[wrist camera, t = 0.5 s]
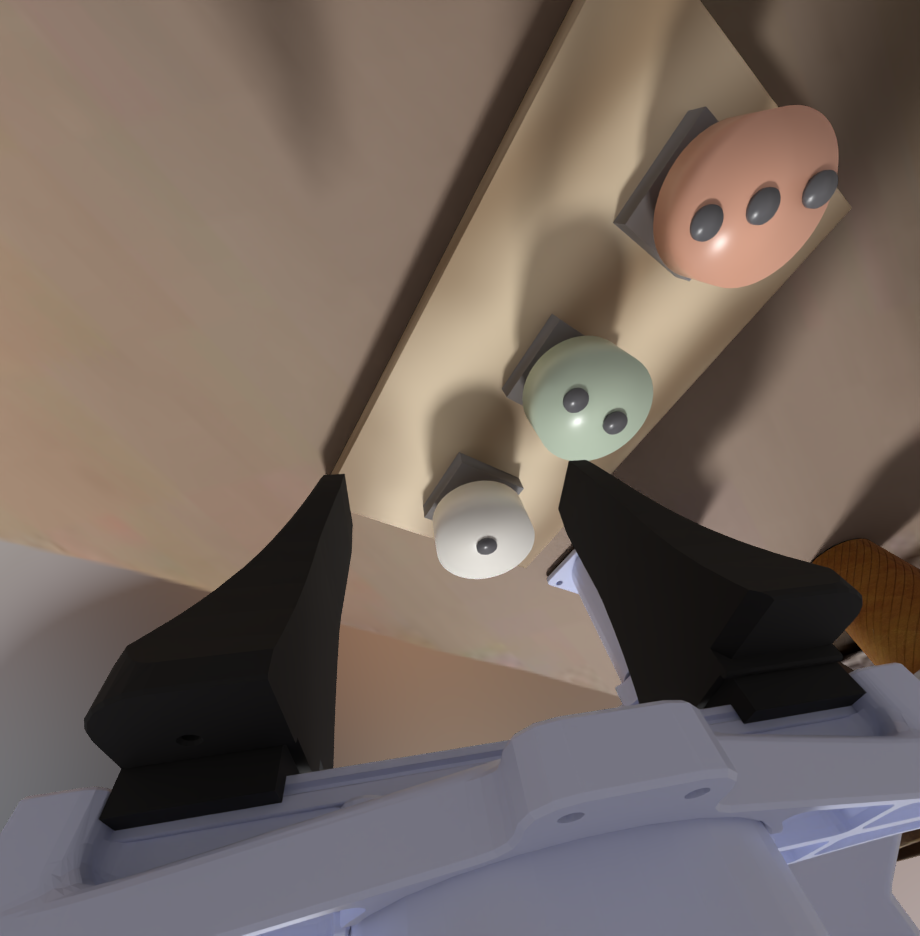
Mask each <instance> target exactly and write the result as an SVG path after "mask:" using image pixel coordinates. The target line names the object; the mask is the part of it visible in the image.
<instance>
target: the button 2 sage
mask: <svg viewBox="0 0 920 936" xmlns="http://www.w3.org/2000/svg"><path fill="white" fill-rule="evenodd" d="M652 400H653V384H652V379H651V377H650V374H649V372H648V370H647V369H646V367H645V366H644V365H643V364H642V363H641V362H640V361H639V360H637V359H636V358H634V357H633V356H631V355H630V354H628V353H627V352H625V351H624V350H622V349H621V348H620V347H618V346H617V345H615V344H614V343H612V342H610V341H609V340H607V339H604V338H601V337H597V336H578V337H574V338H570V339H567V340H565V341H563V342H561V343H559V344H557V345H555V346H554V347H552V348H551V349H549V350H548V351H547V352H546V353H544V354H543V355H542V356H541V357H540V359H539V360H538V361H537V362H536V363H535V365H534V366H533V368H532V369H531V371H530V372H529V375H528V377H527V379H526V382H525V385H524V389H523V399H522V401H523V408H524V412H525V415H526V417H527V419H528V421H529V422H530V424H531V425H532V427H533V429H534V430H535V432H536V433H537V435H538V437H539V438H540V440H541V441H542V443H543V444H544V446H545V447H546V448H547V449H548V450H549V451H550V452H551V453H552V454H554V455H556V456H557V457H559V458H562V459H565V460H569V461H574V460H588V461H590V460H594V459H598V458H601V457H604V456H606V455H608V454H611V453H612V452H614V451H616V450H618V449H619V448H620V447H622V446H623V445H625V444H626V443H627V442H628V441H629V440H630V439H631V438H632V437H633V436H634V435H635V434H636V433H637V432H638V430H639V429H640V428H641V426H642V425H643V423H644V422H645V420H646V418H647V416H648V414H649V411H650V408H651V405H652Z"/></svg>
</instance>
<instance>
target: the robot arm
mask: <svg viewBox="0 0 920 936" xmlns="http://www.w3.org/2000/svg"><path fill="white" fill-rule="evenodd" d="M558 510H559V513H560V516H561V519H562V522H563V524H564V527H565V530H566V532H567V535H568V537H569V539H570V541H571V543H572V544H573V546H574V548H575V549H574V550H573V551H572V552H571V553H570V554H569V555H568V556H567V557H566V558H565V559H564V560H563V561H562V562H561V564H560V565H559V566H558V567H557V568H556V569H555V570H554V571H553V572H552V573H551V574H550V575H549V576H548V578H547V581H548V583H549V585H552V586H555V587H558V588H561V589H565V590H568V591H571V592H574V593H577V594H579V595H580V597H581V599H582V601H583V603H584V606H585V608H586V610H587V612H588V614H589V616H590V618H591V620H592V622H593V624H594V626H595V628H596V630H597V632H598V634H599V636H600V639H601V641H602V643H603V645H604V647H605V649H606V651H607V653H608V655H609V657H610V659H611V661H612V663H613V665H614V667H615V669H616V671H617V674H618V676H619V678H620V680H621V682H622V684H620V685H618V686H617V687H616V688H615V689H616V691H617V693H618V695H619V698H620V700H621V702H622V705H620V706H619V707H617V708H610V709H604V710H597V711H591V712H585V713H578V714H572V715H565V716H560V717H554V718H551V719H547V720H544V721H540V722H536V723H533V724H531V725H530V726H528V727H526V728H524V729H523V730H521V731H519V732H518V733H515V734H514V735H513V737H512V738H511V739H510V740H507V741H501V742H495V743H489V744H482V745H476V746H470V747H464V748H458V749H451V750H445V751H439V752H433V753H426V754H421V755H414V756H408V757H402V758H395V759H389V760H383V761H377V762H370V763H365V764H358V765H352V766H346V767H339V768H333V759H334V726H335V725H334V724H335V700H336V698H335V697H336V679H337V659H338V644H339V643H338V642H339V629H340V621H341V614H342V608H343V602H344V596H345V590H346V584H347V578H348V572H349V565H350V559H351V553H352V526H353V524H352V517H351V511H350V504H349V498H348V491H347V485H346V478H345V474H332V475H324V476H323V477H322V478H321V479H320V480H319V482H318V483H317V485H316V486H315V488H314V489H313V490H312V492H311V493H310V495H309V496H308V497H307V499H306V500H305V501H304V503H303V504H302V505H301V507H300V508H299V509H298V510H297V512H296V513H295V514H294V516H293V517H292V518H291V519H290V520H289V522H288V523H287V524H286V525H285V526H284V527H283V528H282V530H281V531H280V532H279V533H278V534H277V535H276V536H275V537H274V539H273V540H272V541H271V542H270V543H269V544H268V545H267V546H266V547H265V548H264V549H263V550H262V551H261V552H260V553H259V554H258V555H257V556H256V557H255V558H253V559H252V560H251V561H250V562H249V563H248V564H247V565H246V566H245V567H243V568H242V569H241V570H240V571H238V572H237V573H236V574H235V575H233V576H232V577H231V578H230V579H228V580H227V581H226V582H225V583H224V584H222V585H221V586H220V587H219V588H217V589H216V590H215V591H213V592H212V593H210V594H209V595H208V596H207V597H205V598H203V599H202V600H201V601H199V602H198V603H196V604H195V605H193V606H192V607H190V608H189V609H187V610H186V611H184V612H183V613H181V614H180V615H178V616H177V617H175V618H174V619H172V620H170V621H169V622H167V623H165V624H163V625H162V626H160V627H158V628H157V629H155V630H153V631H152V632H150V633H148V634H147V635H145V636H143V637H142V638H140V639H138V640H137V641H135V642H133V643H131V644H130V645H128V646H127V647H126V648H125V650H124V651H123V653H122V655H121V656H120V658H119V659H118V660H117V662H116V663H115V665H114V667H113V668H112V670H111V672H110V674H109V675H108V677H107V679H106V681H105V683H104V685H103V686H102V688H101V690H100V692H99V694H98V695H97V697H96V699H95V700H94V702H93V704H92V706H91V708H90V709H89V711H88V713H87V715H86V717H85V718H84V727H85V730H86V732H87V734H88V735H89V737H90V738H91V740H92V741H93V742H94V743H95V744H96V745H97V746H98V747H99V748H100V749H101V750H102V751H103V752H104V753H105V754H106V755H108V756H109V757H110V758H111V759H112V760H113V761H114V762H115V763H116V764H117V765H118V766H119V767H120V768H121V771H120V773H119V775H118V778H117V780H116V782H115V784H114V786H113V789H112V790H111V789H108V788H103V787H86V788H80V789H73V790H67V791H60V792H54V793H47V794H40V795H34V796H28V797H26V798H24V799H22V800H20V801H19V803H18V805H17V806H16V808H15V809H14V811H13V813H12V815H11V816H10V818H9V819H8V821H7V823H6V824H5V826H4V828H3V830H2V831H1V833H0V936H920V930H919V929H918V928H917V926H916V925H915V924H914V922H913V921H912V920H911V918H910V917H909V915H908V914H907V913H906V911H905V910H904V909H903V907H902V906H901V905H900V903H899V902H898V901H897V900H896V898H895V897H894V895H893V894H892V881H893V876H894V871H895V866H896V861H897V856H898V851H899V846H900V841H901V836H902V833H904V832H908V831H912V830H916V829H920V680H919V679H917V678H916V677H915V676H914V675H913V674H912V673H911V672H910V671H909V670H908V669H907V668H905V667H904V666H903V665H902V664H900V663H890V664H883V665H877V666H870V667H864V668H860V669H857V670H855V671H853V672H850V673H849V674H848V673H847V672H846V671H845V670H844V669H843V667H842V666H841V665H840V664H839V663H838V662H839V661H841V660H842V659H843V655H842V653H841V652H840V651H839V650H838V649H837V648H836V647H835V646H834V645H833V644H832V643H833V642H834V641H835V640H836V639H837V638H838V637H839V636H840V635H841V633H842V632H843V631H844V630H845V629H846V628H847V627H848V626H849V625H850V624H851V623H852V622H853V621H854V619H855V618H856V617H857V616H858V614H859V613H860V611H861V608H862V606H863V600H862V595H861V594H860V593H859V592H858V591H857V590H856V589H855V588H854V587H853V586H851V585H850V584H849V583H848V582H847V581H846V580H844V579H843V578H842V577H841V576H840V575H839V574H837V573H836V572H835V571H834V570H832V569H831V568H828V567H824V566H820V565H816V564H813V563H809V562H805V561H801V560H798V559H794V558H790V557H786V556H783V555H780V554H777V553H773V552H770V551H767V550H764V549H761V548H758V547H755V546H752V545H749V544H746V543H744V542H741V541H738V540H735V539H733V538H730V537H728V536H725V535H723V534H720V533H718V532H715V531H713V530H710V529H708V528H706V527H704V526H701V525H699V524H697V523H695V522H693V521H691V520H689V519H687V518H684V517H682V516H680V515H678V514H676V513H674V512H672V511H671V510H669V509H667V508H665V507H663V506H662V505H660V504H658V503H656V502H654V501H653V500H651V499H649V498H648V497H646V496H644V495H642V494H641V493H639V492H638V491H636V490H634V489H633V488H631V487H630V486H628V485H626V484H625V483H623V482H622V481H620V480H619V479H617V478H615V477H614V476H612V475H611V474H609V473H608V472H606V471H604V470H603V469H601V468H600V467H598V466H596V465H595V464H593V463H591V462H589V461H588V460H574V461H569V462H568V467H567V471H566V475H565V480H564V484H563V489H562V493H561V498H560V502H559V507H558Z"/></svg>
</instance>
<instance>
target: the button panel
mask: <svg viewBox="0 0 920 936" xmlns="http://www.w3.org/2000/svg"><path fill="white" fill-rule="evenodd" d="M773 108H778V106H777V105H776V104H775V102H774V101H773V99H772V98H771V97H770V95H769V94H768V93H767V91H766V90H765V89H764V87H763V86H762V84H761V83H760V82H759V80H758V79H757V78H756V76H755V75H754V73H753V72H752V71H751V69H750V68H749V67H748V65H747V64H746V63H745V61H744V60H743V58H742V57H741V56H740V54H739V53H738V52H737V50H736V49H735V47H734V46H733V45H732V43H731V42H730V41H729V39H728V38H727V37H726V35H725V34H724V32H723V31H722V30H721V28H720V27H719V26H718V24H717V23H716V21H715V20H714V19H713V17H712V16H711V15H710V13H709V12H708V11H707V9H706V8H705V6H704V5H703V4H702V2H701V1H700V0H573V2H572V4H571V6H570V8H569V10H568V12H567V14H566V16H565V18H564V20H563V22H562V24H561V26H560V28H559V30H558V32H557V34H556V36H555V37H554V39H553V41H552V43H551V45H550V47H549V49H548V51H547V53H546V55H545V57H544V59H543V61H542V63H541V65H540V67H539V69H538V71H537V73H536V75H535V77H534V79H533V80H532V82H531V84H530V86H529V88H528V90H527V92H526V94H525V96H524V98H523V100H522V102H521V104H520V106H519V108H518V110H517V112H516V114H515V116H514V118H513V120H512V121H511V123H510V125H509V127H508V129H507V131H506V133H505V135H504V137H503V139H502V141H501V143H500V145H499V147H498V149H497V151H496V153H495V155H494V157H493V159H492V161H491V163H490V164H489V166H488V168H487V170H486V172H485V174H484V176H483V178H482V180H481V182H480V184H479V186H478V188H477V190H476V192H475V194H474V196H473V198H472V200H471V202H470V204H469V205H468V207H467V209H466V211H465V213H464V215H463V217H462V219H461V221H460V223H459V225H458V227H457V229H456V231H455V233H454V235H453V237H452V239H451V241H450V243H449V245H448V247H447V248H446V250H445V252H444V254H443V256H442V258H441V260H440V262H439V264H438V266H437V268H436V270H435V272H434V274H433V276H432V278H431V280H430V282H429V284H428V286H427V288H426V289H425V291H424V293H423V295H422V297H421V299H420V301H419V303H418V305H417V307H416V309H415V311H414V313H413V315H412V317H411V319H410V321H409V323H408V325H407V327H406V329H405V331H404V332H403V334H402V336H401V338H400V340H399V342H398V344H397V346H396V348H395V350H394V352H393V354H392V356H391V358H390V360H389V362H388V364H387V366H386V368H385V370H384V372H383V373H382V375H381V377H380V379H379V381H378V383H377V385H376V387H375V389H374V391H373V393H372V395H371V397H370V399H369V401H368V403H367V405H366V407H365V409H364V411H363V413H362V415H361V416H360V418H359V420H358V422H357V424H356V426H355V428H354V430H353V432H352V434H351V436H350V438H349V440H348V442H347V444H346V446H345V448H344V450H343V452H342V454H341V456H340V457H339V459H338V461H337V463H336V465H335V467H334V469H333V471H332V473H331V475H332V474H345V478H346V485H347V491H348V498H349V504H350V511H351V512H352V513H355V514H358V515H361V516H364V517H368V518H371V519H374V520H377V521H380V522H383V523H386V524H389V525H392V526H396V527H399V528H402V529H405V530H408V531H411V532H414V533H417V534H420V535H424V536H427V537H430V538H433V539H435V536H434V529H433V514H434V511H435V509H436V507H437V505H438V503H439V502H440V501H441V500H442V498H443V497H445V496H446V495H447V494H448V493H449V492H451V491H452V490H454V489H455V488H457V487H459V486H461V485H464V484H467V483H470V482H475V481H495V482H499V483H502V484H505V485H507V486H509V487H510V488H512V489H513V490H514V491H515V492H516V493H517V494H518V495H519V497H520V499H521V501H522V503H523V505H524V508H525V510H526V512H527V514H528V517H529V519H530V521H531V523H532V526H533V528H534V533H535V539H534V544H533V547H532V549H531V551H530V552H529V554H528V555H527V557H526V558H525V559H524V560H523V561H522V562H521V563H520V564H518V565H517V566H520V567H523V568H527V566H528V565H529V564H530V563H531V562H532V561H533V560H534V559H535V558H536V556H537V555H538V554H539V553H540V552H541V551H542V550H543V549H544V548H545V547H546V545H547V544H548V543H549V542H550V541H551V540H552V539H553V538H554V537H555V535H556V534H557V533H558V532H559V531H560V530H561V529H562V528H563V527H564V524H563V522H562V519H561V516H560V513H559V510H558V507H559V502H560V498H561V493H562V489H563V484H564V480H565V475H566V471H567V467H568V462H569V460H565V459H562V458H559V457H557V456H556V455H554V454H552V453H551V452H550V451H549V450H548V449H547V448H546V447H545V446H544V444H543V443H542V441H541V440H540V438H539V437H538V435H537V433H536V432H535V430H534V429H533V427H532V425H531V424H530V422H529V421H528V419H527V417H526V415H525V412H524V408H523V401H522V399H523V389H524V385H525V382H526V379H527V377H528V375H529V372H530V371H531V369H532V368H533V366H534V365H535V363H536V362H537V361H538V360H539V359H540V357H541V356H542V355H543V354H544V353H546V352H547V351H548V350H549V349H551V348H552V347H554V346H555V345H557V344H559V343H561V342H563V341H565V340H567V339H570V338H574V337H578V336H597V337H601V338H604V339H607V340H609V341H610V342H612V343H614V344H615V345H617V346H618V347H620V348H621V349H622V350H624V351H625V352H627V353H628V354H630V355H631V356H633V357H634V358H636V359H637V360H639V361H640V362H641V363H642V364H643V365H644V366H645V367H646V369H647V370H648V372H649V374H650V377H651V379H652V384H653V400H652V405H651V408H650V411H649V414H648V416H647V418H646V420H645V422H644V423H643V425H642V426H641V428H640V429H639V430H638V432H637V433H636V434H635V435H634V436H633V437H632V438H631V439H630V440H629V441H628V442H627V443H626V444H625V445H623V446H622V447H620V448H619V449H618V450H616V451H614V452H612V453H611V454H608V455H606V456H604V457H601V458H598V459H594V460H590V461H589V462H591V463H593V464H595V465H596V466H598V467H600V468H601V469H603V470H604V471H606V472H608V473H609V474H612V472H613V471H614V470H615V469H616V468H617V467H618V466H619V465H620V464H621V462H622V461H623V460H624V459H625V458H626V457H627V456H628V455H629V454H630V453H631V451H632V450H633V449H634V448H635V447H636V446H637V445H638V444H639V443H640V441H641V440H642V439H643V438H644V437H645V436H646V435H647V434H648V433H649V432H650V430H651V429H652V428H653V427H654V426H655V425H656V424H657V423H658V422H659V420H660V419H661V418H662V417H663V416H664V415H665V414H666V413H667V412H668V411H669V409H670V408H671V407H672V406H673V405H674V404H675V403H676V402H677V401H678V399H679V398H680V397H681V396H682V395H683V394H684V393H685V392H686V391H687V390H688V388H689V387H690V386H691V385H692V384H693V383H694V382H695V381H696V380H697V378H698V377H699V376H700V375H701V374H702V373H703V372H704V371H705V370H706V369H707V367H708V366H709V365H710V364H711V363H712V362H713V361H714V360H715V359H716V357H717V356H718V355H719V354H720V353H721V352H722V351H723V350H724V349H725V348H726V346H727V345H728V344H729V343H730V342H731V341H732V340H733V339H734V338H735V336H736V335H737V334H738V333H739V332H740V331H741V330H742V329H743V328H744V327H745V325H746V324H747V323H748V322H749V321H750V320H751V319H752V318H753V317H754V315H755V314H756V313H757V312H758V311H759V310H760V309H761V308H762V307H763V306H764V304H765V303H766V302H767V301H768V300H769V299H770V298H771V297H772V296H773V294H774V293H775V292H776V291H777V290H778V289H779V288H780V287H781V286H782V285H783V283H784V282H785V281H786V280H787V279H788V278H789V277H790V276H791V275H792V273H793V272H794V271H795V270H796V269H797V268H798V267H799V266H800V265H801V264H802V262H803V261H804V260H805V259H806V258H807V257H808V256H809V255H810V254H811V252H812V251H813V250H814V249H815V248H816V247H817V246H818V245H819V244H820V242H821V241H822V240H823V239H824V238H825V237H826V236H827V235H828V234H829V233H830V231H831V230H832V229H833V228H834V227H835V226H836V225H837V224H838V223H839V221H840V220H841V219H842V218H843V217H844V216H845V215H846V214H847V213H848V212H849V210H850V209H851V206H850V205H849V203H848V202H847V201H846V199H845V198H844V197H843V195H842V194H841V192H840V191H839V190H838V188H836V190H835V192H834V194H833V196H832V197H831V198H830V201H829V203H828V206H827V208H826V210H825V212H824V214H823V216H822V218H821V220H820V222H819V223H818V225H817V227H816V228H815V230H814V231H813V233H812V234H811V236H810V237H809V238H808V240H807V241H806V242H805V244H804V245H803V246H802V247H801V248H800V250H799V251H798V252H797V253H796V254H795V255H794V256H793V257H792V258H791V259H790V260H789V261H788V262H787V263H785V264H784V265H783V266H782V267H781V268H779V269H778V270H777V271H775V272H774V273H772V274H771V275H769V276H768V277H766V278H764V279H762V280H760V281H758V282H756V283H753V284H751V285H748V286H744V287H739V288H722V287H718V286H714V285H711V284H707V283H704V282H700V281H697V280H694V279H690V278H687V277H683V276H680V275H678V274H676V273H674V272H673V271H671V270H670V269H669V268H668V267H667V266H666V265H665V264H664V263H663V261H662V260H661V258H660V256H659V254H658V252H657V249H656V246H655V242H654V234H653V221H654V212H655V207H656V202H657V199H658V196H659V192H660V190H661V187H662V185H663V182H664V180H665V178H666V176H667V174H668V172H669V170H670V169H671V167H672V165H673V164H674V162H675V161H676V159H677V158H678V156H679V155H680V154H681V152H682V151H683V150H684V149H685V148H686V147H687V146H688V144H689V143H690V142H691V141H692V140H693V139H694V138H696V137H697V136H698V135H699V134H700V133H701V132H703V131H704V130H706V129H707V128H708V127H710V126H711V125H713V124H715V123H717V122H719V121H721V120H724V119H726V118H729V117H734V116H739V115H744V114H748V113H753V112H758V111H763V110H768V109H773Z"/></svg>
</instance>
